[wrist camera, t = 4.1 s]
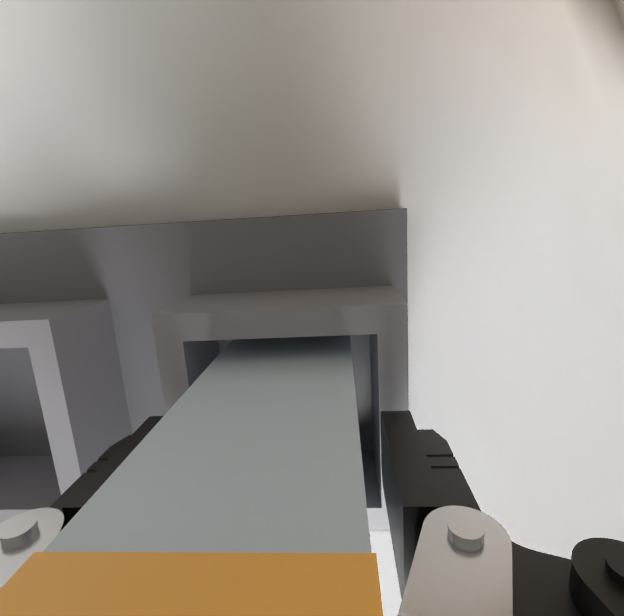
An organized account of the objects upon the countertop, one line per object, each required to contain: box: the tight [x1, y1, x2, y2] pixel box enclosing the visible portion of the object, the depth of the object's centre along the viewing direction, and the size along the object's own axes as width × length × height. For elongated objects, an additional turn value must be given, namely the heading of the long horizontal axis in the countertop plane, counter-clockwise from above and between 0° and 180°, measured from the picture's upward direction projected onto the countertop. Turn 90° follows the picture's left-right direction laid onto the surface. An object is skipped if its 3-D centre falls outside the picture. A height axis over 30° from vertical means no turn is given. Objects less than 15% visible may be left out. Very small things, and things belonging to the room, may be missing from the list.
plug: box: [0, 335, 383, 616], centre depth 9 cm, size 4×4×11 cm
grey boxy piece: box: [0, 208, 408, 531], centre depth 14 cm, size 18×12×4 cm, turn 94°
